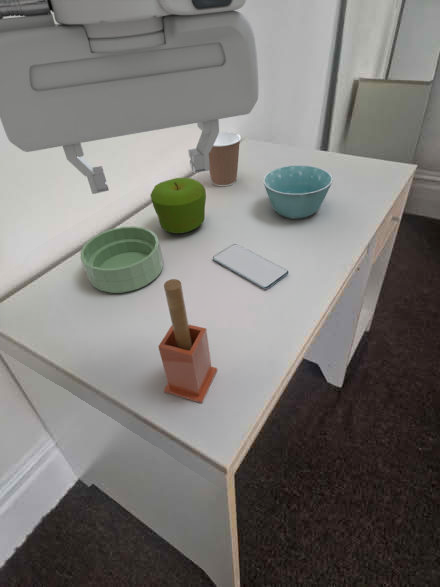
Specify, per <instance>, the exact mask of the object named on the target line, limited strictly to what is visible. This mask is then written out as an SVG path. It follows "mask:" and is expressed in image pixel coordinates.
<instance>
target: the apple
mask: <svg viewBox="0 0 440 587" xmlns="http://www.w3.org/2000/svg"><path fill="white" fill-rule="evenodd" d="M150 199H151V203H152V206H153V209H154V211H155V213H156V215H157V219H158V222H159V225H160V227H161V229H163V230H164V231H165V232H168V233H171V234H185V233H189V232H191V231H193V230H195V229H197V228H199V227H200V226H201V225H202V224H203V223H204V221H205V218H206V200H207V194H206V188H205V186H204V184H203V183H201V182H200V181H198V180H196V179H194V178H190V177H175V178H171V179H167V180H163V181H161V182H158V183H157V184H156V185H154V187H153V189H152V190H151V193H150Z"/></svg>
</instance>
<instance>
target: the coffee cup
mask: <svg viewBox="0 0 440 587" xmlns="http://www.w3.org/2000/svg"><path fill="white" fill-rule="evenodd" d="M241 139H242V137H241V135H240V134H238V133H237V132H232V131H219V134H218V136H217V138H216V140H215V142H214V145H213V147H212V149H211V151H210V153H209V164H210V170H209V175H210V176H209V177H210V180H211V183H212V184H213V185H214V186H217V187H229V186H232V185H234V184H235V183H236V182H237V177H238V166H239V154H240V143H241Z"/></svg>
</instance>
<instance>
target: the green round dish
mask: <svg viewBox="0 0 440 587" xmlns="http://www.w3.org/2000/svg"><path fill="white" fill-rule="evenodd" d="M79 258H80V261H81V264H82V266H83V268H84V271H85V273H86V276H87V279H88V281H89V283H90V284H91V286H92V287H94V288H95V289H97V290H99V291H101V292H106V293H112V294H113V293H117V294H118V293H127V292H130V291H135V290H138V289H140V288H143V287H145V286H148V285H149V284H150V283H151V282H153V281H154V280H155V279H157V278H158V276H160V274H161V272H162V270H163V268H164V258H163V255H162V249H161V246H160V241H159V237H158V235H157V234H156V233H155V232H154V231H153V230H150V229H149V228H145V227H141V226H134V225H132V226H119V227H115V228H111V229H108V230H105V231H102V232H100V233H98V234H97V235H95V236H93V237H92V238H90V239H89V240H88V241H87V242H86V243H85V244H84V245H83V246H82V248H81V249H80V257H79Z"/></svg>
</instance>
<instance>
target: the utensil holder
mask: <svg viewBox="0 0 440 587" xmlns="http://www.w3.org/2000/svg"><path fill="white" fill-rule="evenodd" d="M188 325H189V331H190V336H191V342H192V348H191V349H190V351H188V350H184V349H180V348H177V344H176V339H175V335H174V330H173V326H172V325H171V326H170V327H169V329H168V331H167V332H166V333H165V335H164V337H163V338H162V340H161V341H160V343H159V344H158V346H157V347H158V351H159V355H160V358H161V363H162V366H163V369H164V373H165V378H166V381H167V383H166V385H165V386H164V388H163V392H164V393H166V394H169V395H172V396H175V397H178V398H183V399H185V400H189V401H193V402H196V403H200V404H203V402H204V401H205V398H206V396H207V394H208V392H209V389H210V387H211V385H212V384H213V382H214V378H215V377H216V374H217V372H218V368H217V367H214V366H212V360H211V352H210V345H209V338H208V331H207V328H205V327H201V326H197V325H193V324H189V323H188Z"/></svg>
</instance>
